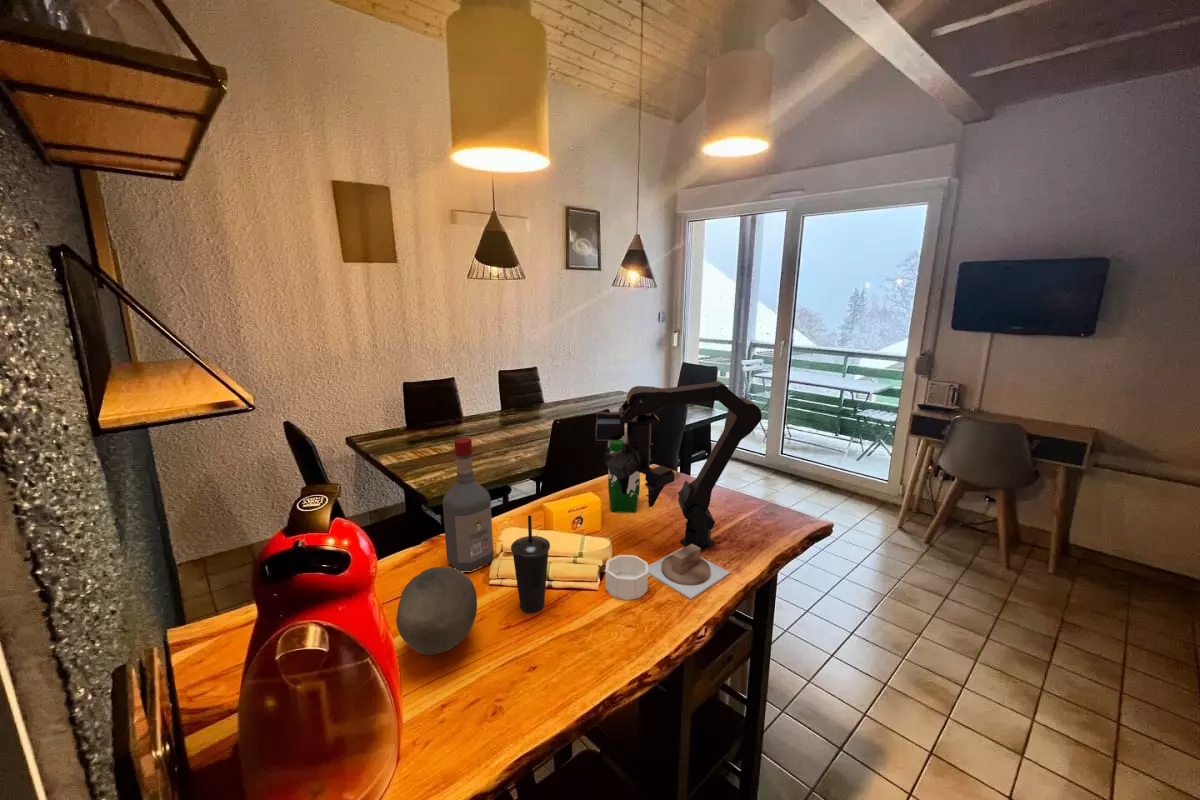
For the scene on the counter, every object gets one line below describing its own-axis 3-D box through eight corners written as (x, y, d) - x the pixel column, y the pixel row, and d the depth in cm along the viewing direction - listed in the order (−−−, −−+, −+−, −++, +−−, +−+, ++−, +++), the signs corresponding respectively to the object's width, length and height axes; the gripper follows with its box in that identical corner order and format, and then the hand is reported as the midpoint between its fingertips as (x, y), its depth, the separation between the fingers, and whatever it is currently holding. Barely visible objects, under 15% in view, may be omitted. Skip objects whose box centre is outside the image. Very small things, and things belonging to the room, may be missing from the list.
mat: (681, 548, 122) (681, 547, 121) (729, 574, 111) (730, 572, 111) (642, 570, 113) (642, 568, 113) (690, 599, 102) (690, 598, 102)
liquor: (498, 561, 116) (492, 440, 109) (463, 577, 110) (454, 450, 102) (477, 546, 122) (470, 431, 115) (443, 561, 116) (433, 440, 109)
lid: (682, 552, 119) (683, 533, 118) (720, 572, 111) (721, 552, 110) (651, 569, 112) (651, 549, 111) (689, 592, 104) (690, 571, 103)
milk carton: (608, 500, 148) (608, 436, 143) (638, 500, 148) (639, 437, 143) (608, 513, 140) (608, 447, 135) (639, 514, 139) (641, 447, 135)
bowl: (626, 570, 113) (627, 550, 112) (655, 588, 106) (656, 568, 105) (597, 585, 107) (597, 565, 106) (626, 606, 101) (626, 584, 99)
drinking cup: (557, 598, 103) (555, 510, 98) (541, 621, 96) (538, 528, 91) (524, 590, 105) (521, 504, 100) (506, 613, 98) (502, 521, 93)
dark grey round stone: (384, 650, 88) (375, 576, 84) (452, 611, 99) (447, 543, 95) (426, 692, 79) (419, 612, 76) (497, 644, 90) (493, 571, 86)
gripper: (587, 437, 119) (587, 497, 122) (643, 458, 105) (641, 524, 109) (621, 428, 126) (620, 485, 130) (677, 447, 112) (674, 509, 116)
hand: (637, 500), depth 121 cm, fingers open, 9 cm apart
